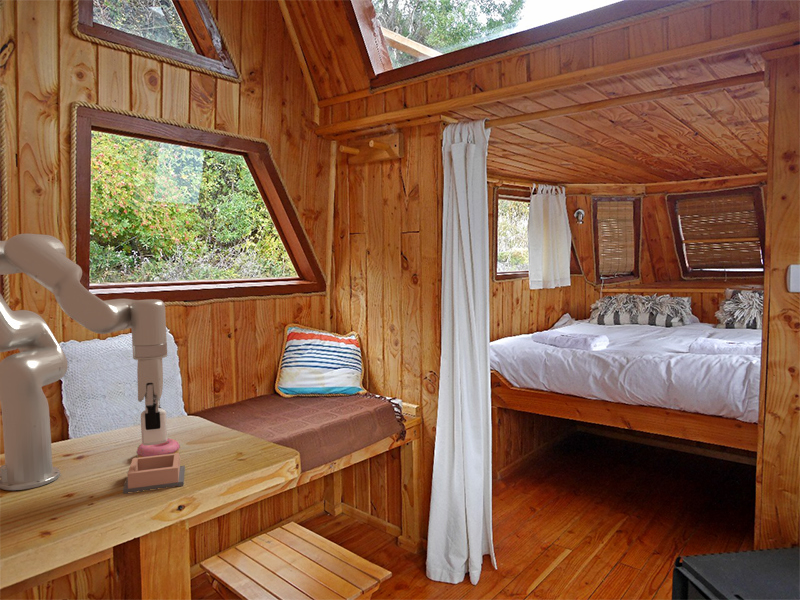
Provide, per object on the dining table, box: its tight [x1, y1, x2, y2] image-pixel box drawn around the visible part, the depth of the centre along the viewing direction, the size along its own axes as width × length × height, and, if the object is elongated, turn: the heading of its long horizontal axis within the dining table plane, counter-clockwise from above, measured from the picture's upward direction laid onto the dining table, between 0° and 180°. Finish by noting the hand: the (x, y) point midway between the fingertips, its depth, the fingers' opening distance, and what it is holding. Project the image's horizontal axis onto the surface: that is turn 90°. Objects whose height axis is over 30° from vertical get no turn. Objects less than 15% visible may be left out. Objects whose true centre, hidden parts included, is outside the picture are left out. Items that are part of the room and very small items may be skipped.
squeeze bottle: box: [140, 397, 168, 445], centre depth 135 cm, size 4×6×12 cm
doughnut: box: [136, 437, 181, 458], centre depth 153 cm, size 11×11×4 cm
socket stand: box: [122, 452, 186, 494], centre depth 136 cm, size 13×11×4 cm
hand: (153, 425), depth 135 cm, fingers closed on squeeze bottle, 3 cm apart
